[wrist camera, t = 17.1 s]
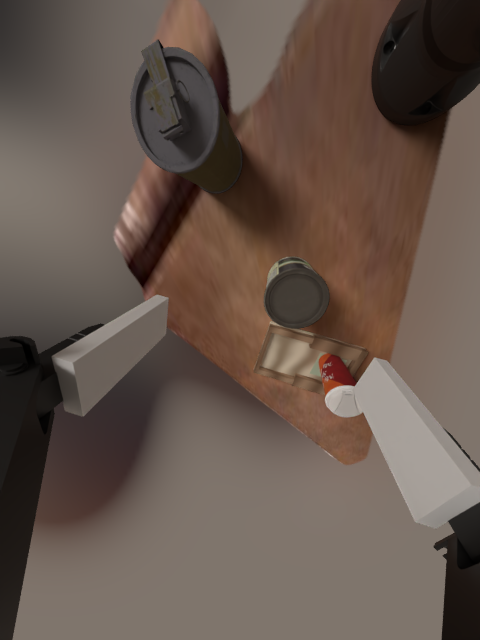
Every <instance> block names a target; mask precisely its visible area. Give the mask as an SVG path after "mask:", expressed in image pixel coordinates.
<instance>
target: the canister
mask: <svg viewBox="0 0 480 640" xmlns="http://www.w3.org/2000/svg"><path fill="white" fill-rule="evenodd" d="M141 52H142V55H143V58H144V62H143V63H142V65H141V66H140V68H139V70H138V72H137V74H136V76H135V80H134V85H133V88H132V92H131V116H132V122H133V126H134V129H135V133H136V136H137V138H138V141H139V143H140V145H141V147H142V148H143V150H144V152H145V153H146V155H147V156H148V157H149V158H150V159H151V160H152V161H153V162H154V163H155V164H156V165H157V166H159V167H160V168H162V169H164V170H166V171H168V172H172V173H176V174H178V175H180V176H182V177H184V178H186V179H187V180H189V181H191V182H193V183H195V184H197V185H199V186H200V187H201V188H202V189H203V190H205V191H207V192H210V193H217V194H218V193H222V192H225V191H227V190H228V189H230V188H231V187H232V186H233V185H234V184H235V182H236V181H237V179H238V177H239V175H240V172H241V168H242V160H243V159H242V151H241V146H240V143H239V141H238V139H237V138H236V136H235V135H234V133H233V131H232V128H231V126H230V124H229V122H228V119H227V117H226V115H225V113H224V110H223V108H222V106H221V103H220V101H219V99H218V96H217V91H216V88H215V85H214V83H213V80H212V78H211V76H210V75H209V73H208V71H207V69H206V68H205V66H204V65H203V64H202V63H201V62H200V61H199V60H198V59H197V58H196V57H195V56H194V55H193V54H192V53H190V52H187V51H185V50H183V49H181V48H177V47H166V48H163V46H162V44H161V43H160V41H159V40H157V41H155V42H154V43H152V44H151V45H149V46H148V47H147V48H145V49H144V50H142V51H141Z"/></svg>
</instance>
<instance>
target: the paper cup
mask: <svg viewBox="0 0 480 640" xmlns="http://www.w3.org/2000/svg"><path fill="white" fill-rule="evenodd" d="M319 369H320V373H321V378H322V383H323V387H324V392H325V396H326V397H325V403H326V405H327V407H328V408H329V409H330V410H331V411H332V412H333V413H334V414H336V415H338V416H341V417H353V416H356V415H359V414H360V413H362V412H363V411H362V409H361V407H360V404H359V402H358V400H357V398H356V396H355V394H354V392H353V388H354V387H355V385H356V384H357V383H356V381H355V380H354V378H353V377H352V375H351V373H350V372H349V370H348V368H347V367H346V365H345V364H344V362H343V361H342V359H341V358H340V357H339V356H336V355H332V354H329V353H327V354H324V355H322V356H321V357H320V359H319Z"/></svg>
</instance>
